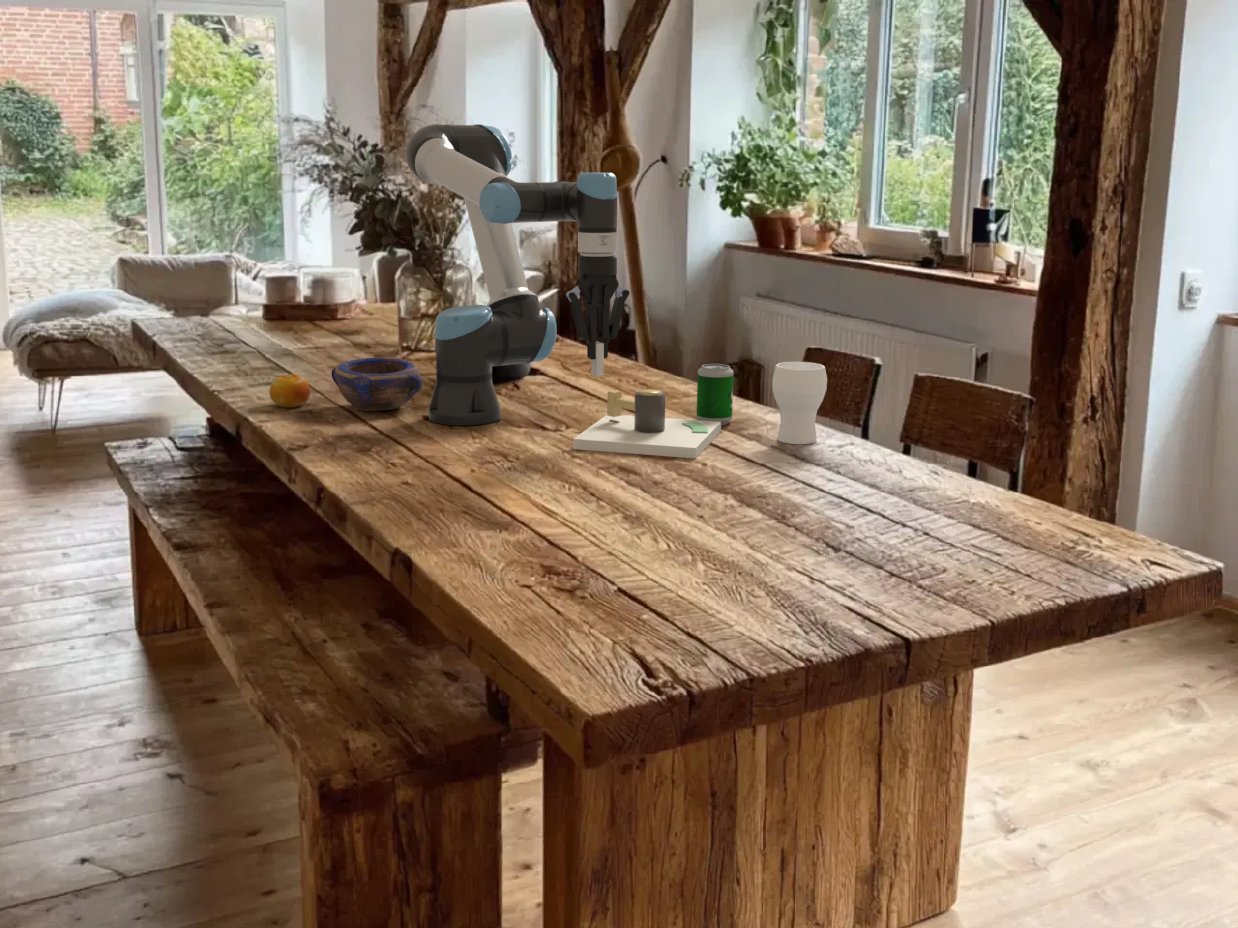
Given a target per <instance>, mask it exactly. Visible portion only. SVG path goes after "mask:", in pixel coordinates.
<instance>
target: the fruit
mask: <svg viewBox="0 0 1238 928" xmlns="http://www.w3.org/2000/svg"><path fill="white" fill-rule="evenodd" d="M310 386H311V385H310V384H309V382H308V381H307V380H306V378H305V377H303V376H301V375H299V374H285V375H281V376H278V377H277V378H275V379H274V380H273V381H272V383H271V385H270V387H269V397H270V399H271V401H272V402H273V403H274V404H276V405H277V406H278V407H281V408H287V407H289V408H298V406H299V407H303V406H304V405H305V404H306V403H307V402H308V400H309V399H310V395H311V387H310Z"/></svg>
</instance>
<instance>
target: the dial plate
mask: <svg viewBox="0 0 1238 928" xmlns="http://www.w3.org/2000/svg"><path fill="white" fill-rule="evenodd" d="M634 420H635V415H628V414H627V415H626V414H621V416H617V417H611V416H607V414H606V415H605V416H602V418H600V419H599V420H598V421H596V422H595V423H593V424H592V425H591V426H589V427H587V429H585V430H583V431H581V433H579V434H578V435H577V436H575V437H574V438H573V442H572V443H573V444H572V445H573V446H572V447H573V448H572V449H573V450H580V451H581V450H582V451H594V452H595V451H596V452H608V453H619V454H632V455H634V454H635V455H646V456H659V457H660V456H661V457H670V458H671V457H672V458H673V457H675V458H684V459H697V458H698V457H699V456H700V454H702V452H703V451H704V450H705V449H707V447H708V446H709V445H710V444H711V443H712V442H713V440H714V439H715V438H717V437H718V435H719V434H720V433H721V432H722V425H721V422H716V421H702V420H698V419H685V418H672V417H671V418H670V417H665V429H664V430H663V431H658V432H643V431H638V430H635V429H634Z"/></svg>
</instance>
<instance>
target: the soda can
mask: <svg viewBox="0 0 1238 928" xmlns="http://www.w3.org/2000/svg"><path fill="white" fill-rule="evenodd" d="M734 375H735V374H734V370H733V369H732V368H731V366H730V365H727V364H723V363H722V364H721V363H708V364H707V363H706V364H702V365H701V367H700V368H699V369H698V370H697V382H696V383H697V384H696V385H697V386H696V390H697V391H696V420H702V421H716V422H721V426H724V425H728V423H729V422H730V421H731V420H732V419H733V406H734V405H733V402H734V401H733V400H734V398H733V397H734Z"/></svg>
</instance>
